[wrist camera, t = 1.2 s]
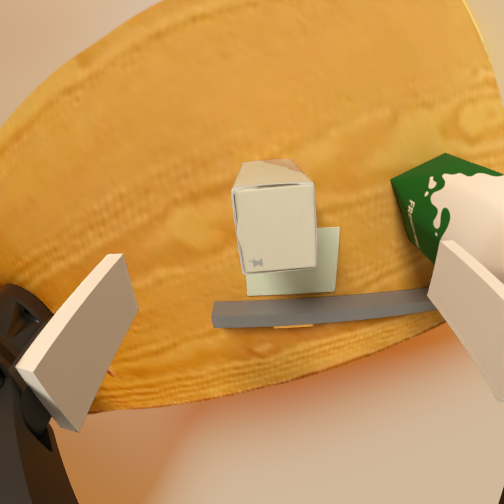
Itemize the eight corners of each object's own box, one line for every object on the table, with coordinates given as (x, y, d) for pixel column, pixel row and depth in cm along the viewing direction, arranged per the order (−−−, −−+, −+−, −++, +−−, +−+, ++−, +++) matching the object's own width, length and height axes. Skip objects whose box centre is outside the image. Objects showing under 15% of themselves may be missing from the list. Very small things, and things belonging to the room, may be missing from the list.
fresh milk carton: (466, 216, 26) (594, 320, 8) (402, 251, 28) (516, 399, 10) (448, 141, 23) (619, 207, 5) (377, 174, 25) (546, 293, 7)
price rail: (216, 316, 31) (214, 331, 29) (214, 301, 31) (211, 316, 28) (434, 299, 30) (443, 311, 28) (438, 286, 30) (448, 297, 27)
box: (294, 212, 26) (317, 274, 16) (246, 216, 27) (241, 280, 17) (291, 154, 24) (316, 181, 14) (240, 159, 24) (229, 188, 14)
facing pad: (247, 294, 30) (247, 295, 30) (242, 230, 27) (242, 231, 27) (334, 290, 30) (334, 291, 30) (339, 226, 27) (339, 227, 27)
